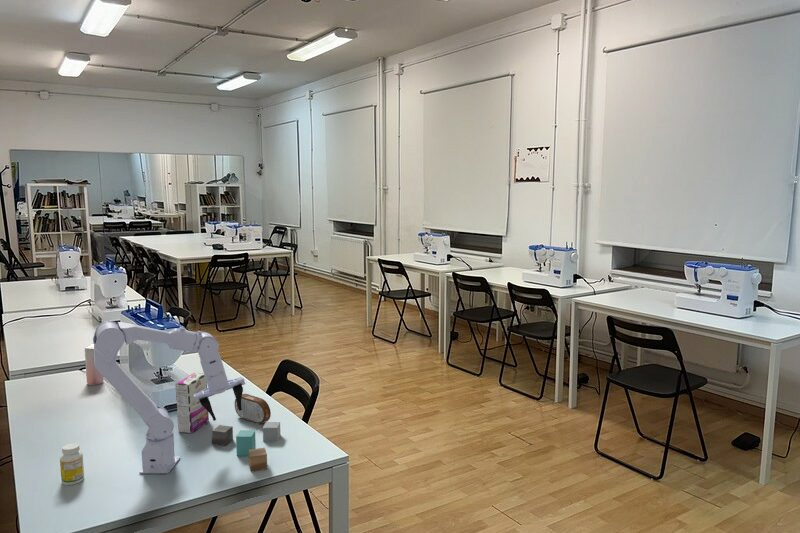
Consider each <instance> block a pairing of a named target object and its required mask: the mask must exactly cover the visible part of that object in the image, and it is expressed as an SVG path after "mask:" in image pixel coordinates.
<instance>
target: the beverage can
mask: <svg viewBox="0 0 800 533" xmlns="http://www.w3.org/2000/svg"><path fill="white" fill-rule="evenodd" d="M84 361H85V373H86V375H85V376H86V383H87V385H89V386H98V385H101V384H103V382H104V381H105V380H104V379H105V378H104V377H103V375H102V374H101V373H100V372H99V371H98V370H97V369H96V367H95V363H94V345H93V344H90V345H89V344H88V345H86V346H85V347H84Z"/></svg>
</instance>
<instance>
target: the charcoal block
mask: <svg viewBox="0 0 800 533" xmlns="http://www.w3.org/2000/svg"><path fill="white" fill-rule="evenodd" d="M233 429H234V427H233V426H232V425H224V424H219V425H218V426H216V427H214V428H213V429H212V430H211V444H213V446H221V447H226V446H227V445H229V444H230V443H231V442H233V441H234V430H233Z"/></svg>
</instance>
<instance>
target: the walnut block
mask: <svg viewBox="0 0 800 533" xmlns="http://www.w3.org/2000/svg"><path fill="white" fill-rule="evenodd" d="M248 467H249V471H250V472H251V473H252V472H258V471H265V470H268V454H267V450H266V448H265V447H259V448H256V449H251V450H249V456H248Z"/></svg>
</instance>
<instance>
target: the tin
mask: <svg viewBox="0 0 800 533" xmlns="http://www.w3.org/2000/svg"><path fill="white" fill-rule="evenodd" d="M241 408H242V410H241V411H239V409H238V406H237V402H236V398H235V400H234V410H235V412H236V414H237V416H238V417H239V418H240V419H242V420H246V421H249V422H251V423H255V424H257V425H261V424H265V423H266V422H269V421H270V419H271V416H272V415H271V408H270V405H269V403H268V402H267V401H266V399H263V398H261V397H259V396H255V395H252V394H249V393H242V398H241Z"/></svg>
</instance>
